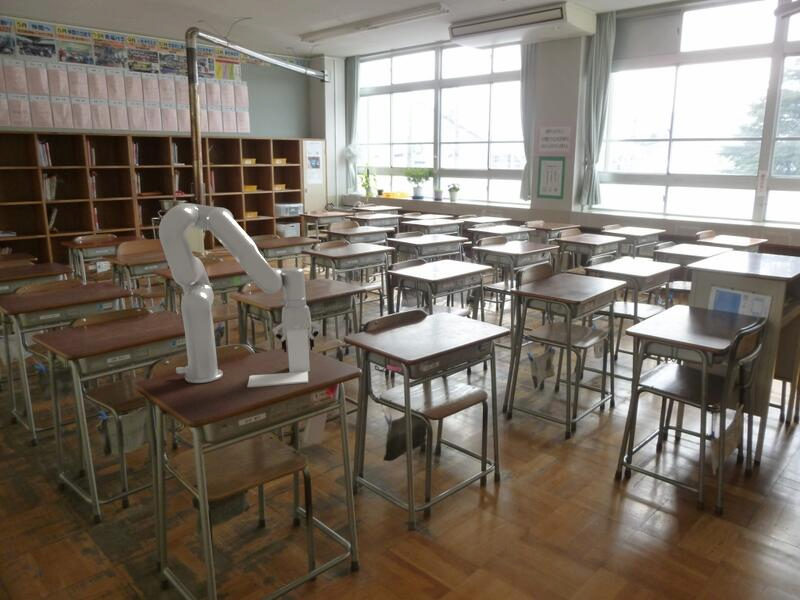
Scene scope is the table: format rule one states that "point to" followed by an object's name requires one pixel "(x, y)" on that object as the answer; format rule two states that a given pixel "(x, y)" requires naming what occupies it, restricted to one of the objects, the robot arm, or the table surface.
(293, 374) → the mat
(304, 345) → the milk carton
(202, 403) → the table surface
